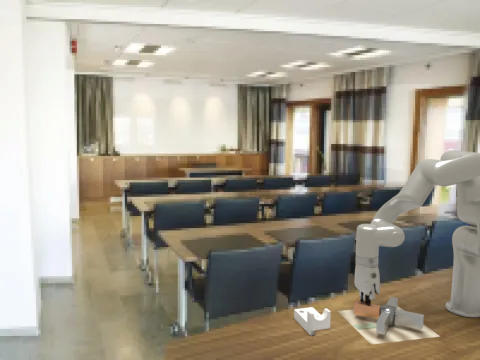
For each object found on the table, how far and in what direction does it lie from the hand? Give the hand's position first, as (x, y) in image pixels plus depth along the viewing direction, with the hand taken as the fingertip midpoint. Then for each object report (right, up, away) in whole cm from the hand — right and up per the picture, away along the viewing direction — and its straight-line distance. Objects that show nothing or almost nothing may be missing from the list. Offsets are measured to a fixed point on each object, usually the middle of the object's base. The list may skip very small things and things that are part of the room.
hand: (365, 310), depth 150 cm
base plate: (+5, -4, -5) cm, 9 cm away
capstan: (+5, -3, -7) cm, 9 cm away
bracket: (-20, -4, -4) cm, 20 cm away
